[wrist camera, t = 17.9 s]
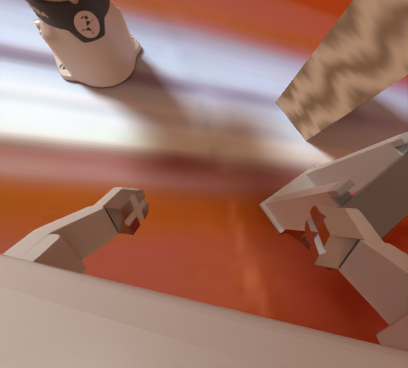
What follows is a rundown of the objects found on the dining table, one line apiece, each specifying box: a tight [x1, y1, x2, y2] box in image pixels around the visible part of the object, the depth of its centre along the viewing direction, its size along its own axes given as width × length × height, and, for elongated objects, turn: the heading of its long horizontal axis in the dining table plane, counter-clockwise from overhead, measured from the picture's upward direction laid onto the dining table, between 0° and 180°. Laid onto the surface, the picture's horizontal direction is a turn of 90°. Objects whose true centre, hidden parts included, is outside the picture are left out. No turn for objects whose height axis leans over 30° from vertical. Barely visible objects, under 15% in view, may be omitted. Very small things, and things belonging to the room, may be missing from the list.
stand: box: [276, 0, 408, 141], centre depth 29 cm, size 12×20×27 cm, turn 124°
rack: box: [259, 131, 408, 233], centre depth 28 cm, size 7×16×18 cm, turn 124°
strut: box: [299, 151, 408, 270], centre depth 18 cm, size 4×26×4 cm, turn 123°
